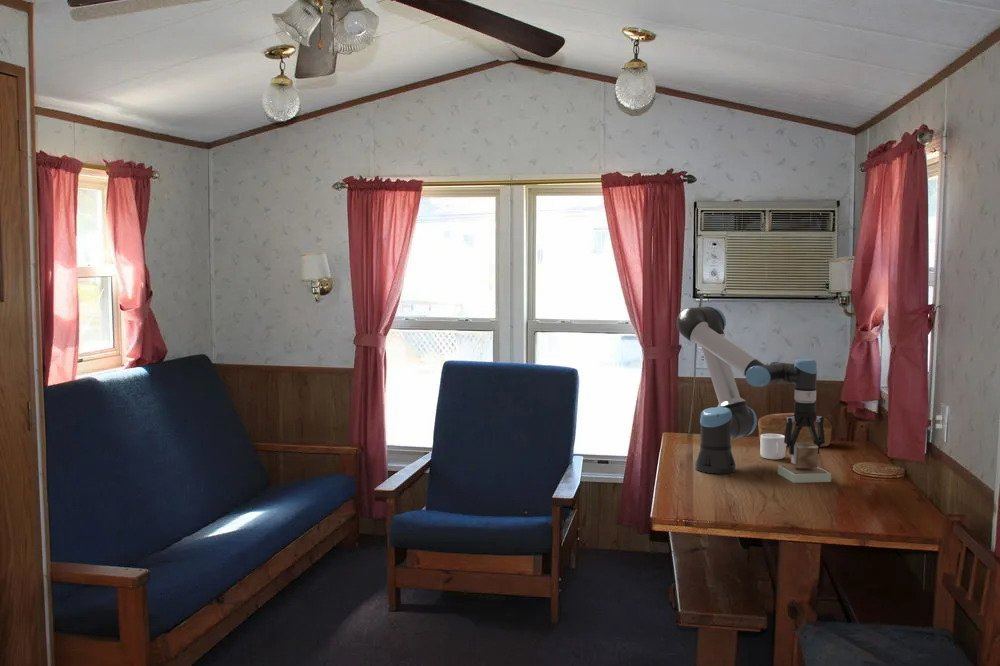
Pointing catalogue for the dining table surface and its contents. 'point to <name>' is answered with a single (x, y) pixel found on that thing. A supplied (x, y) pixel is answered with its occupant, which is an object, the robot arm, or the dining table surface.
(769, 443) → the mug
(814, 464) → the block
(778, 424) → the bread
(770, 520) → the dining table surface
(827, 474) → the base
